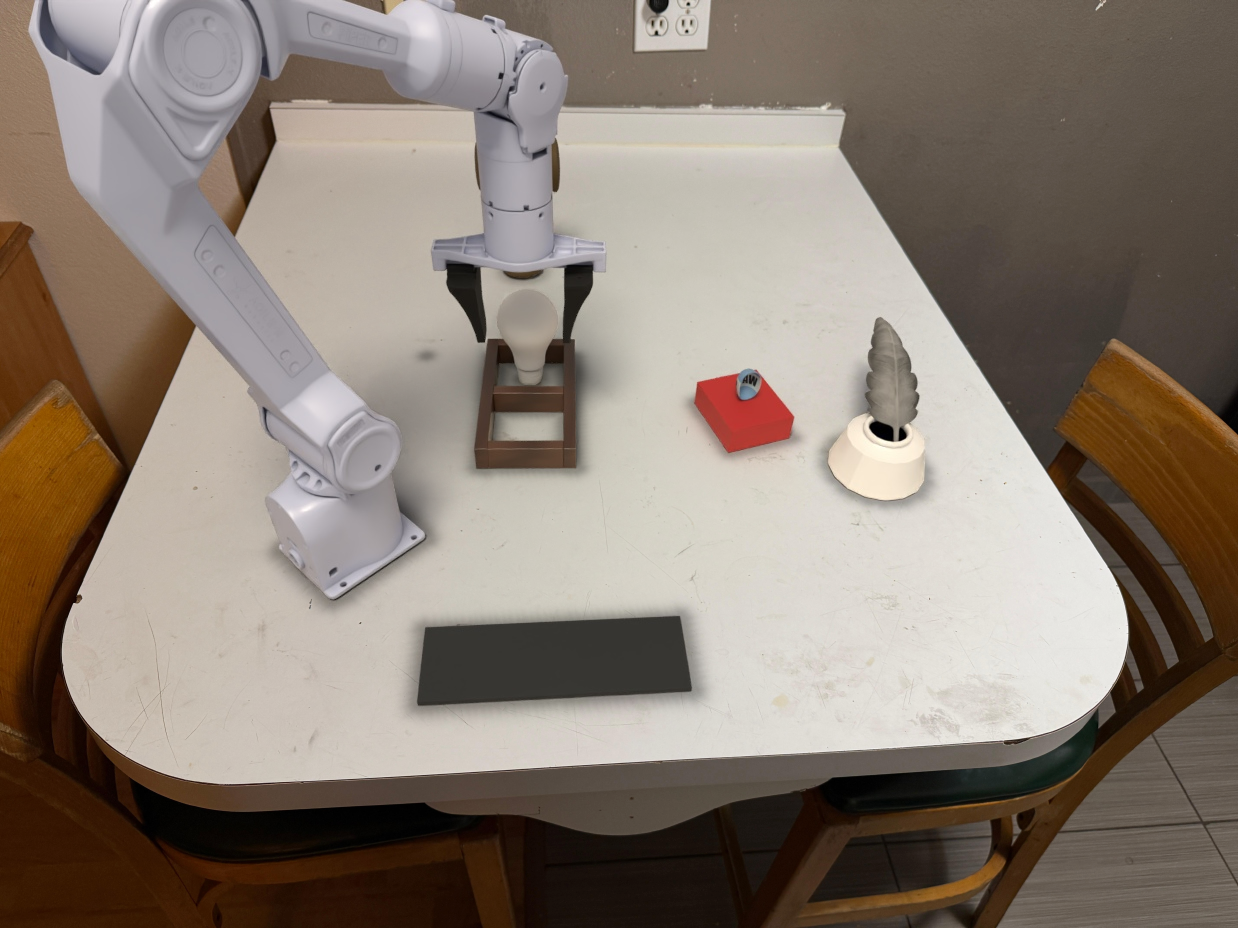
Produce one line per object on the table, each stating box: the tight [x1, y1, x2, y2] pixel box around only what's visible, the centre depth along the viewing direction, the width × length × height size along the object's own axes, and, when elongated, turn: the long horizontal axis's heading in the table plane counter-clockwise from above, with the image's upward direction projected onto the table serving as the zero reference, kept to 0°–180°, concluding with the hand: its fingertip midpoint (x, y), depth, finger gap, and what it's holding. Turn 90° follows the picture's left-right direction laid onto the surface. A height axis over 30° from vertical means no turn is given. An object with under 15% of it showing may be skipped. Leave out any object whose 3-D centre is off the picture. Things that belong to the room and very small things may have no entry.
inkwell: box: [827, 316, 926, 502], centre depth 79 cm, size 9×18×10 cm, turn 178°
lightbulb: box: [496, 288, 560, 386], centre depth 82 cm, size 6×6×11 cm
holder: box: [473, 338, 577, 469], centre depth 82 cm, size 9×18×2 cm, turn 3°
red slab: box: [693, 368, 795, 453], centre depth 81 cm, size 8×7×6 cm
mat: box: [416, 615, 693, 707], centre depth 62 cm, size 20×6×1 cm, turn 95°
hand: (524, 336), depth 74 cm, fingers open, 7 cm apart
